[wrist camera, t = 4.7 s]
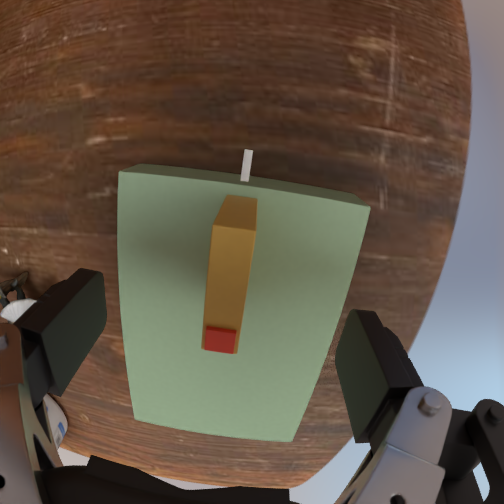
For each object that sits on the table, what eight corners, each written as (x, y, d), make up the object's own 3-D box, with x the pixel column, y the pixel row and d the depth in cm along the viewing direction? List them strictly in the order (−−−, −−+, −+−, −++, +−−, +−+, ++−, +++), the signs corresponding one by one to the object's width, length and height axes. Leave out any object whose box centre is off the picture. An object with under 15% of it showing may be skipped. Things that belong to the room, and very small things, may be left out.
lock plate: (142, 135, 16) (119, 138, 13) (359, 166, 16) (379, 174, 14) (144, 393, 23) (134, 421, 20) (289, 413, 24) (291, 443, 21)
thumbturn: (226, 193, 14) (210, 226, 10) (257, 198, 14) (256, 233, 10) (215, 291, 16) (199, 353, 12) (243, 295, 16) (236, 359, 12)
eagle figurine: (-22, 282, 19) (13, 378, 21) (-52, 302, 13) (0, 421, 14) (54, 261, 22) (85, 360, 24) (43, 275, 16) (88, 401, 18)
